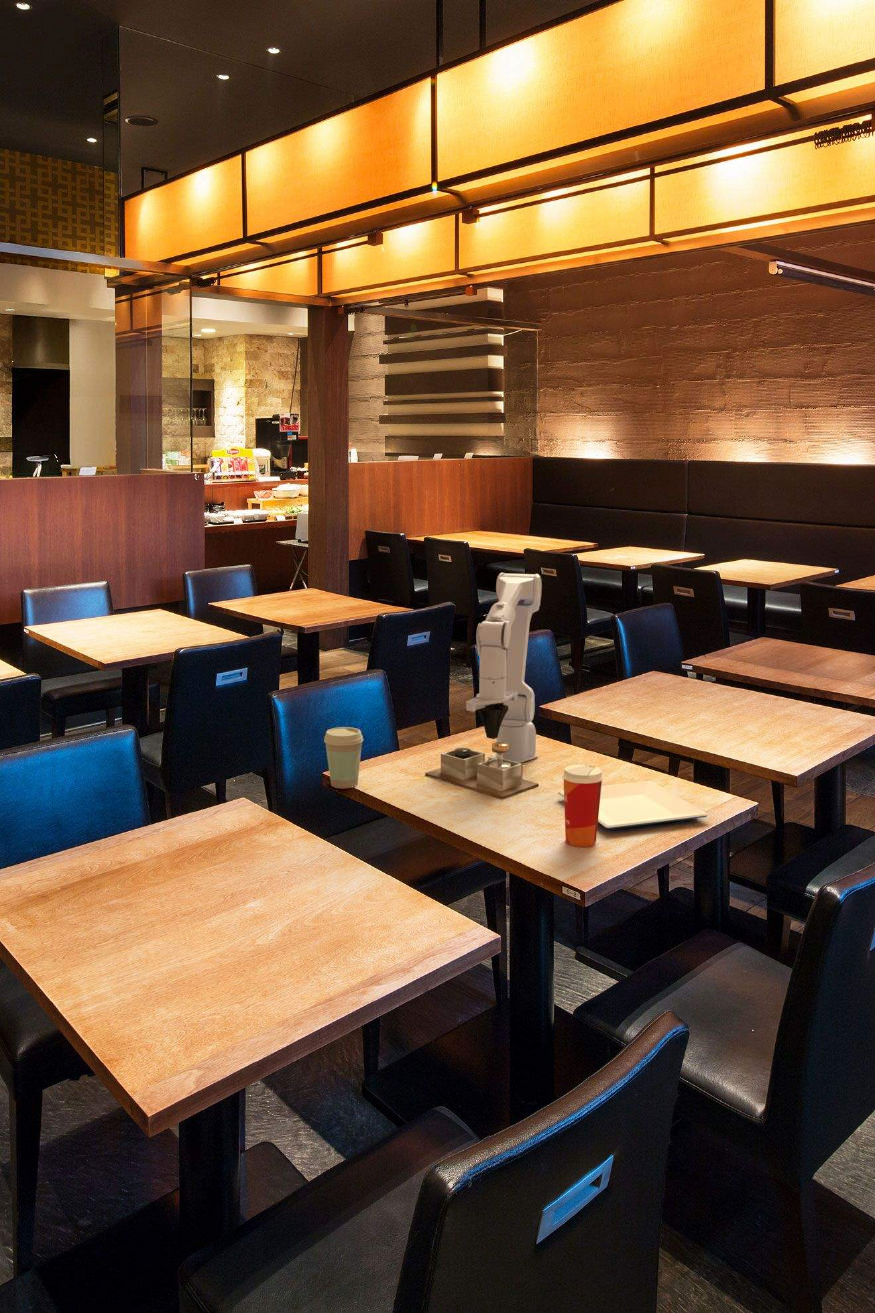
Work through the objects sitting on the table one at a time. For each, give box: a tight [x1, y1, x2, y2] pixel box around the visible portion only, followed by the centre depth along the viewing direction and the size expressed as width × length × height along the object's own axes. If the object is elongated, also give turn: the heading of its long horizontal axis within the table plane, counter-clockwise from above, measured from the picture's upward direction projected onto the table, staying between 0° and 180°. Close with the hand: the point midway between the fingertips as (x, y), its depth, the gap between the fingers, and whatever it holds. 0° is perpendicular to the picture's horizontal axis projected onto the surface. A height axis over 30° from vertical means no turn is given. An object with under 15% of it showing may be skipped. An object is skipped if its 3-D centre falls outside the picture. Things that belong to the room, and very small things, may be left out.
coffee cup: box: [323, 726, 364, 790], centre depth 221 cm, size 8×9×12 cm
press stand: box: [424, 749, 539, 800], centre depth 224 cm, size 12×23×5 cm, turn 46°
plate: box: [557, 780, 709, 830], centre depth 206 cm, size 22×22×2 cm
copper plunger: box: [489, 741, 511, 770], centre depth 220 cm, size 5×5×5 cm
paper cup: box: [561, 764, 605, 848], centre depth 188 cm, size 8×8×14 cm
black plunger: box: [454, 747, 472, 759], centre depth 228 cm, size 5×5×5 cm
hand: (491, 737), depth 221 cm, fingers closed
